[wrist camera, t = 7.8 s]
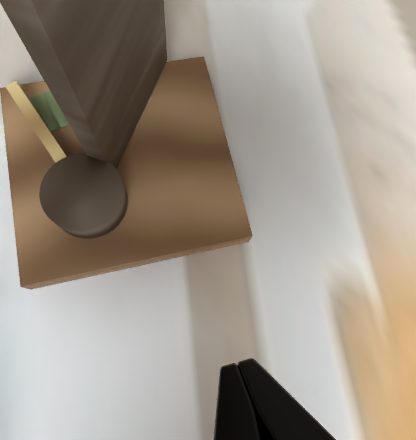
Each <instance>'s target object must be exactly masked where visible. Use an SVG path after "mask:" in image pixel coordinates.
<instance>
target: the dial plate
mask: <svg viewBox="0 0 416 440" xmlns="http://www.w3.org/2000/svg"><path fill="white" fill-rule="evenodd" d="M19 86H20V88H21V89H22V91H23V92H24V94H25V95H26V97H27V98H28V100H29V101H30V103H31V104H32V106H33V107H34V109H35V110H36V112H37V113H38V114H39V116H40V117H41V119H42V120H43V122H44V123H45V125H46V126H47V128H48V129H49V131H50V132H51V134H52V135H53V137H54V138H55V140H56V141H57V143H58V144H59V146H60V147H61V149H62V150H63V152H64V153H65V155H66V156H70V155H74V154H81V153H85V152H84V150H83V148H82V146H81V144H80V143H79V141H78V139H77V137H76V136H75V134H74V132H73V130H72V129H71V127H70V125H69V123H68V121H67V120H66V118H65V116H64V114H63V113H62V111H61V109H60V107H59V106H58V104H57V102H56V100H55V98H54V97H53V95H52V93H51V91H50V90H49V88H48V86H47V84H46V83H45V81H42V82H36V83H29V84H23V85H19ZM0 93H1V103H2V113H3V122H4V132H5V141H6V151H7V161H8V170H9V180H10V189H11V199H12V208H13V218H14V228H15V237H16V247H17V256H18V266H19V276H20V285H21V287H24V288H28V289H35V288H39V287H44V286H48V285H53V284H58V283H62V282H67V281H71V280H76V279H80V278H85V277H89V276H94V275H98V274H103V273H108V272H112V271H117V270H121V269H126V268H130V267H135V266H139V265H144V264H148V263H153V262H158V261H162V260H167V259H171V258H176V257H180V256H185V255H189V254H194V253H198V252H203V251H208V250H212V249H217V248H221V247H226V246H230V245H235V244H239V243H244V242H248V241H249V240H250V239H251V237H252V232H251V229H250V225H249V221H248V218H247V214H246V210H245V207H244V203H243V199H242V195H241V192H240V188H239V184H238V181H237V177H236V173H235V170H234V166H233V162H232V159H231V155H230V151H229V148H228V144H227V140H226V137H225V133H224V129H223V126H222V122H221V118H220V115H219V111H218V107H217V104H216V100H215V96H214V93H213V89H212V85H211V82H210V78H209V74H208V71H207V67H206V63H205V60H204V57H197V58H191V59H184V60H178V61H171V62H166V63H165V66H164V68H163V70H162V72H161V74H160V76H159V79H158V81H157V83H156V85H155V87H154V89H153V91H152V94H151V96H150V98H149V100H148V102H147V104H146V107H145V109H144V111H143V113H142V115H141V117H140V120H139V122H138V124H137V126H136V128H135V130H134V133H133V135H132V137H131V139H130V141H129V143H128V146H127V148H126V150H125V152H124V154H123V156H122V159H121V161H120V163H119V165H118V167H117V169H116V170H117V171H118V173H119V175H120V177H121V179H122V182H123V184H124V187H125V189H126V192H127V196H128V206H127V211H126V213H125V216H124V218H123V219H122V221H121V222H120V224H119V225H118V226H117V227H116V228H115V229H114V230H112V231H111V232H109V233H107V234H105V235H103V236H101V237H97V238H91V239H84V238H78V237H75V236H72V235H70V234H68V233H67V232H65V231H64V230H63V229H61V228H60V227H59V226H58V225H56V224H55V223H54V222H53V221H51V220H50V219H49V218H48V217H47V215H46V214H45V212H44V211H43V209H42V207H41V203H40V198H39V191H40V185H41V182H42V179H43V177H44V176H45V174H46V172H47V171H48V170H49V169H50V168H51V167H52V166H53V165H54V164H55V161H54V160H53V158H52V157H51V155H50V154H49V152H48V151H47V149H46V148H45V146H44V145H43V143H42V142H41V140H40V139H39V137H38V136H37V134H36V132H35V131H34V129H33V128H32V126H31V125H30V123H29V122H28V120H27V119H26V117H25V116H24V114H23V113H22V111H21V110H20V108H19V107H18V105H17V104H16V102H15V101H14V99H13V98H12V96H11V95H10V93H9V92H8V90H7V89H6V87H4V88H0Z"/></svg>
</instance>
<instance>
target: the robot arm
mask: <svg viewBox="0 0 416 440" xmlns="http://www.w3.org/2000/svg"><path fill="white" fill-rule="evenodd" d="M214 440H336V439H335V438H334V437H333V436H332V435H331V434H330V433H329V432H328V431H327V430H326V429H325V428H324V427H323V426H322V425H321V424H320V423H319V422H318V421H317V420H316V419H315V418H313V417H312V416H311V415H310V414H309V413H308V412H307V411H306V410H305V409H304V408H303V407H302V406H301V405H300V404H299V403H298V402H297V401H296V400H295V399H294V398H293V397H292V396H291V395H290V394H289V393H288V392H287V391H286V390H285V389H284V388H283V387H282V386H281V385H280V384H279V383H278V382H277V381H276V380H275V379H274V378H273V377H272V376H271V375H270V374H269V373H268V372H267V371H266V370H265V369H264V368H263V367H262V366H261V365H260V364H259V363H258V362H257V361H256V360H254V359H252V358H251V359H247V360H243V361H240V362H238V364H235V363H233V364H229V365H226V366H222V367H221V369H220V377H219V387H218V398H217V409H216V420H215V430H214Z"/></svg>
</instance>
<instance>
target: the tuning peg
mask: <svg viewBox="0 0 416 440" xmlns="http://www.w3.org/2000/svg"><path fill="white" fill-rule="evenodd" d="M0 3H1V5H2V6H3V8H4V10H5V12H6V13H7V15H8V17H9V19H10V21H11V22H12V24H13V26H14V28H15V29H16V31H17V33H18V35H19V36H20V38H21V40H22V42H23V44H24V45H25V47H26V49H27V51H28V52H29V54H30V56H31V58H32V60H33V61H34V63H35V65H36V67H37V68H38V70H39V72H40V74H41V75H42V77H43V79H44V81H45V83H46V84H47V86H48V88H49V90H50V91H51V93H52V95H53V97H54V98H55V100H56V102H57V104H58V106H59V107H60V109H61V111H62V113H63V114H64V116H65V118H66V120H67V121H68V123H69V125H70V127H71V129H72V130H73V132H74V134H75V136H76V137H77V139H78V141H79V143H80V144H81V146H82V148H83V150H84V152H85V153H81V154H74V155H70V156H66V155H65V153H64V152H63V150H62V149H61V147H60V146H59V144H58V143H57V141H56V140H55V138H54V137H53V135H52V134H51V132H50V131H49V129H48V128H47V126H46V125H45V123H44V122H43V120H42V119H41V117H40V116H39V114H38V113H37V112H36V110H35V109H34V107H33V106H32V104H31V103H30V101H29V100H28V98H27V97H26V95H25V94H24V92H23V91H22V89H21V88H20V86H19V85H18V83H17V82H16V81H14V82H12V83H10V84H8V85H6V86H5V87H6V89H7V90H8V92H9V93H10V95H11V96H12V98H13V99H14V101H15V102H16V104H17V105H18V107H19V108H20V110H21V111H22V113H23V114H24V116H25V117H26V119H27V120H28V122H29V123H30V125H31V126H32V128H33V129H34V131H35V132H36V134H37V136H38V137H39V139H40V140H41V142H42V143H43V145H44V146H45V148H46V149H47V151H48V152H49V154H50V155H51V157H52V158H53V160H54V161H55V164H54V165H53V166H52V167H51V168H50V169H49V170H48V171H47V172H46V174H45V176H44V177H43V179H42V182H41V185H40V191H39V198H40V203H41V207H42V209H43V211H44V212H45V214H46V215H47V217H48V218H49V219H50V220H51V221H53V222H54V223H55V224H56V225H58V226H59V227H60V228H61V229H63V230H64V231H65V232H67V233H68V234H70V235H72V236H75V237H78V238H84V239H91V238H97V237H101V236H103V235H105V234H107V233H109V232H111V231H112V230H114V229H115V228H116V227H117V226H118V225H119V224H120V222H121V221H122V219H123V218H124V216H125V213H126V211H127V206H128V196H127V192H126V189H125V187H124V184H123V182H122V179H121V177H120V175H119V173H118V171H117V170H116V169H117V167H118V165H119V163H120V161H121V159H122V156H123V154H124V152H125V150H126V148H127V146H128V143H129V141H130V139H131V137H132V135H133V133H134V130H135V128H136V126H137V124H138V122H139V120H140V117H141V115H142V113H143V111H144V109H145V107H146V104H147V102H148V100H149V98H150V96H151V94H152V91H153V89H154V87H155V85H156V83H157V81H158V79H159V76H160V74H161V72H162V70H163V68H164V66H165V63H166V61H167V50H166V34H165V18H164V1H163V0H0Z"/></svg>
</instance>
